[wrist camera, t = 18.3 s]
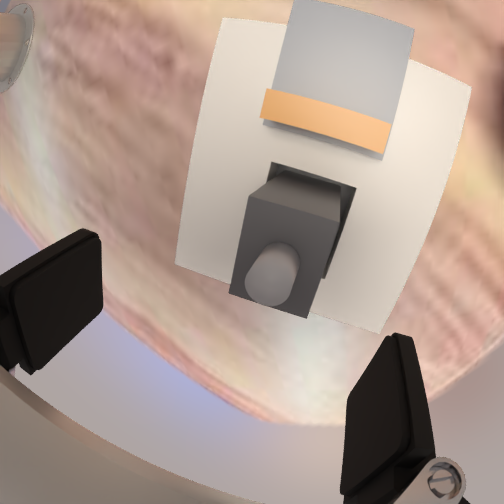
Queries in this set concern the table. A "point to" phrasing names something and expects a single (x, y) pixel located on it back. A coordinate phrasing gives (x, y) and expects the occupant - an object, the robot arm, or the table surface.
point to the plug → (286, 242)
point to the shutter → (339, 76)
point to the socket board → (318, 175)
